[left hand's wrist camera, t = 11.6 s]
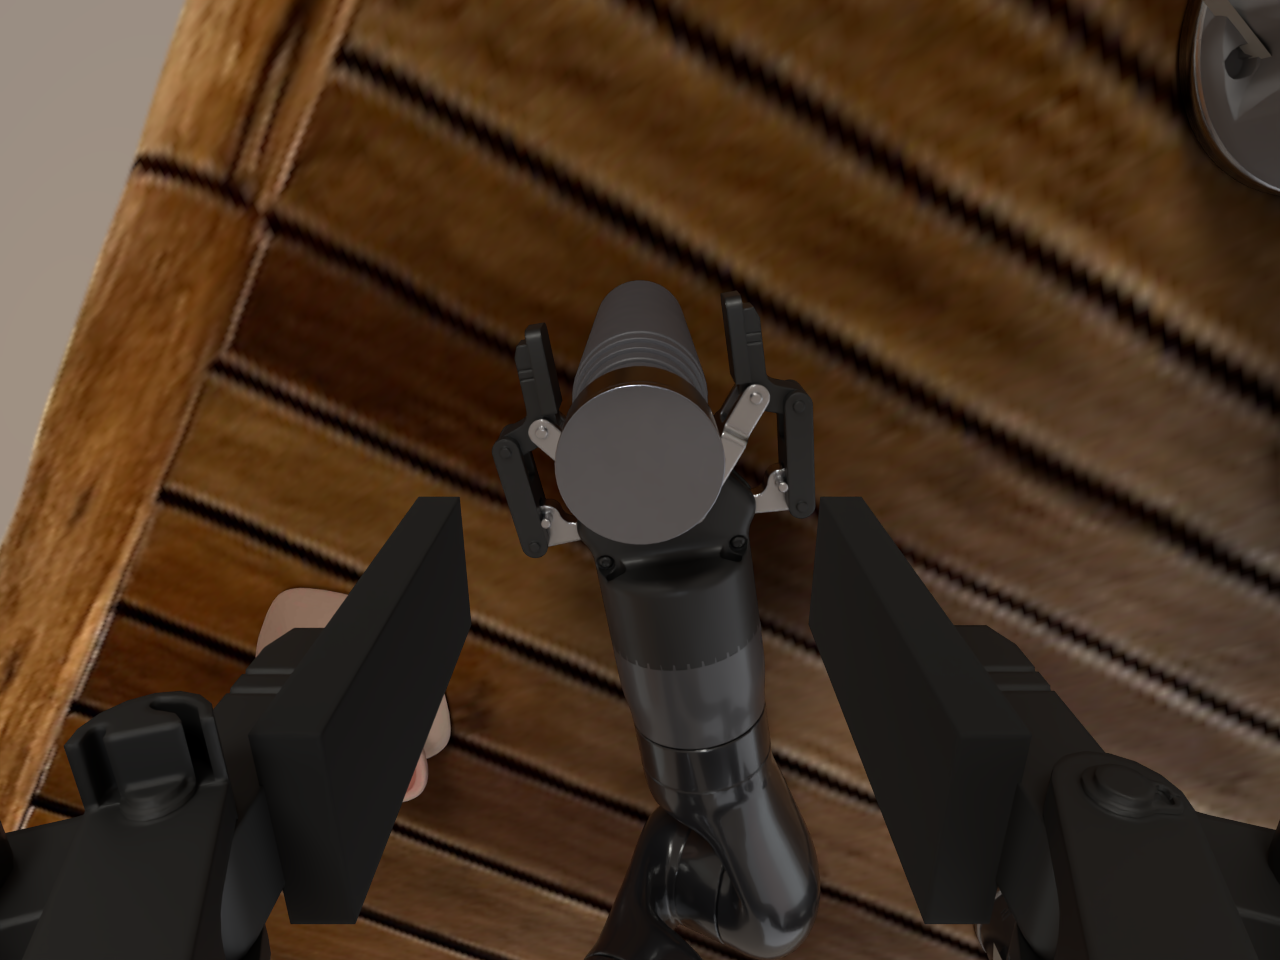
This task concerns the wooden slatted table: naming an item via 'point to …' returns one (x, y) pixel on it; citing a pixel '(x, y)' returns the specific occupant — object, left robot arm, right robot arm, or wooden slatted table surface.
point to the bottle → (640, 336)
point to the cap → (639, 456)
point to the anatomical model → (316, 613)
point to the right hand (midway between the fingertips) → (631, 310)
